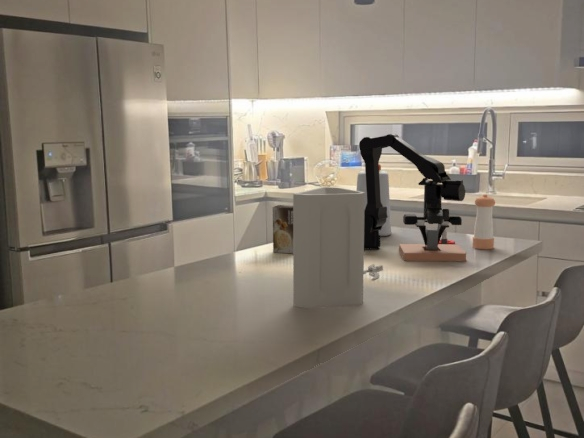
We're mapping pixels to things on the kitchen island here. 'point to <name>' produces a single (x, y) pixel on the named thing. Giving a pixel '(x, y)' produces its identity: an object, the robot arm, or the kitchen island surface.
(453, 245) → the tan flat board
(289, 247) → the coffee box
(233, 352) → the kitchen island surface
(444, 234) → the tow hook
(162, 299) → the kitchen island surface
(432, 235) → the dark gray brick
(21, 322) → the kitchen island surface
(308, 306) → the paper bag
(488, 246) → the pepper shaker
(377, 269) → the pliers
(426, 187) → the robot arm
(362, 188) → the plastic bottle
